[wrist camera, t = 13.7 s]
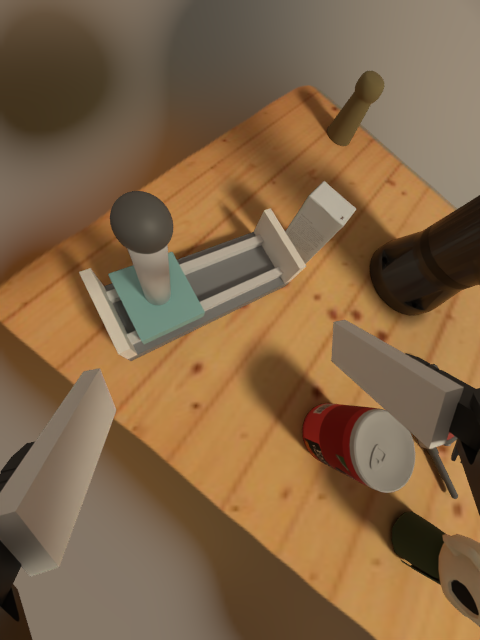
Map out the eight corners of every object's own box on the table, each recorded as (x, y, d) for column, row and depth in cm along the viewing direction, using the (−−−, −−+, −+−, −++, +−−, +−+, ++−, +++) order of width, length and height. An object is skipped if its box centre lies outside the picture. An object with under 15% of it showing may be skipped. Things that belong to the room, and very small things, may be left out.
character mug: (368, 521, 33) (480, 600, 21) (396, 482, 35) (511, 533, 23) (417, 593, 32) (564, 719, 20) (442, 548, 34) (587, 636, 22)
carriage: (172, 259, 32) (167, 135, 16) (203, 316, 31) (230, 243, 15) (112, 281, 29) (35, 157, 14) (144, 344, 28) (101, 290, 12)
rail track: (255, 236, 41) (270, 208, 34) (285, 286, 40) (306, 266, 33) (99, 295, 32) (78, 271, 25) (131, 361, 31) (118, 354, 24)
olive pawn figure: (339, 123, 55) (376, 63, 45) (354, 142, 55) (395, 86, 44) (322, 128, 53) (356, 66, 43) (337, 148, 53) (376, 90, 42)
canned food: (293, 448, 33) (345, 475, 23) (310, 393, 36) (364, 396, 25) (338, 470, 34) (409, 507, 23) (352, 415, 36) (421, 426, 26)
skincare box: (311, 255, 43) (358, 209, 32) (299, 270, 41) (344, 227, 30) (286, 233, 43) (324, 179, 32) (273, 247, 41) (308, 195, 30)
